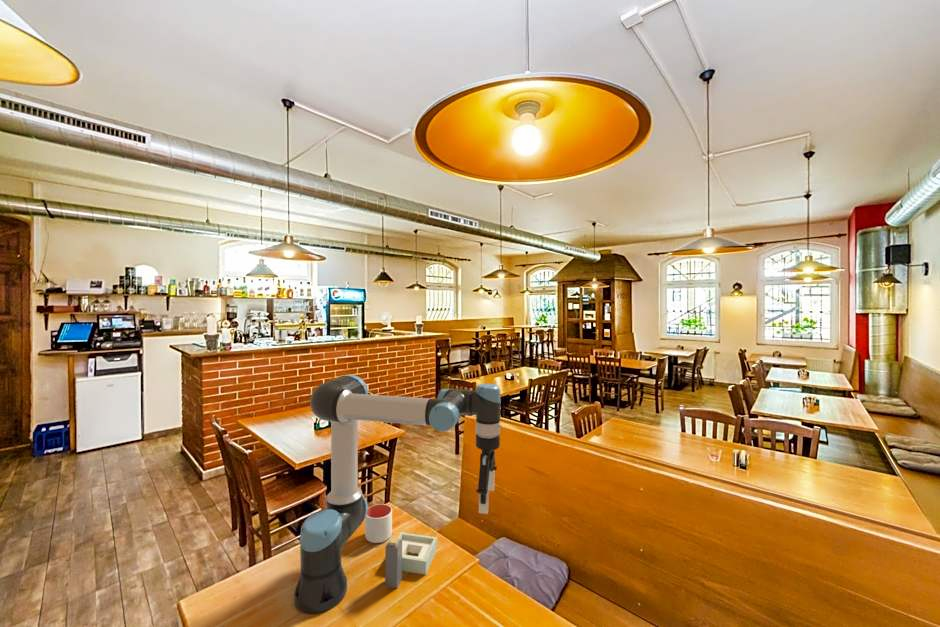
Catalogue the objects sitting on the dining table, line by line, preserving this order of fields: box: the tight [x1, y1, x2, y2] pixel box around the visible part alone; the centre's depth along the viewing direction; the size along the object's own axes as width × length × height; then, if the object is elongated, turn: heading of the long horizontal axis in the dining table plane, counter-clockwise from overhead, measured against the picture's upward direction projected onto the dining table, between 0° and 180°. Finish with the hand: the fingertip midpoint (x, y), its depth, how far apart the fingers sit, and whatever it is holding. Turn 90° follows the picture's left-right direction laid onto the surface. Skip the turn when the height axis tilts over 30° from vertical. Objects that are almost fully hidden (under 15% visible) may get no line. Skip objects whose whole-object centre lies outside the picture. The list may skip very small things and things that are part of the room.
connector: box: [384, 537, 403, 589], centre depth 121 cm, size 4×4×14 cm
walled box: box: [397, 531, 438, 576], centre depth 133 cm, size 14×13×4 cm
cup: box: [364, 503, 393, 544], centre depth 145 cm, size 10×10×10 cm
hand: (486, 500), depth 119 cm, fingers open, 13 cm apart
